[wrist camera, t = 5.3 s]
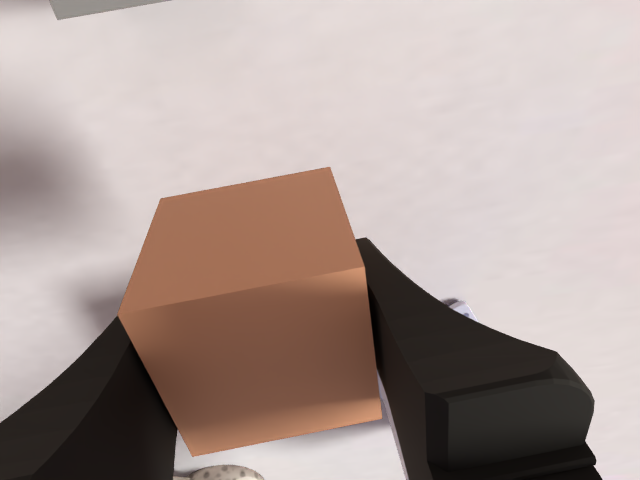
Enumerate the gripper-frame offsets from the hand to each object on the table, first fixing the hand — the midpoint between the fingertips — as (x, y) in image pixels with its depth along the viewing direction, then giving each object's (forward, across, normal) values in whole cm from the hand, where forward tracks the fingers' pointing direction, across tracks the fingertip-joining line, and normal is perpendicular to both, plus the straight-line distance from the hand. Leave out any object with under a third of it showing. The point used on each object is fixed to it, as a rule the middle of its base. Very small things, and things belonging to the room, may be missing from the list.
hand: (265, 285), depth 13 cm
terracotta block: (+2, 0, 0) cm, 2 cm away
